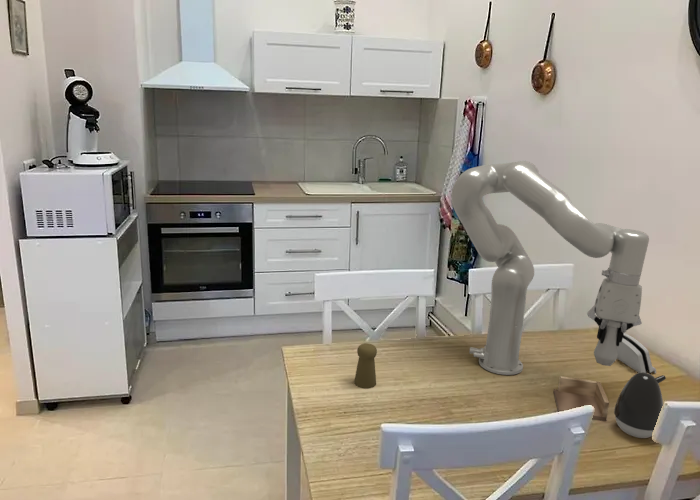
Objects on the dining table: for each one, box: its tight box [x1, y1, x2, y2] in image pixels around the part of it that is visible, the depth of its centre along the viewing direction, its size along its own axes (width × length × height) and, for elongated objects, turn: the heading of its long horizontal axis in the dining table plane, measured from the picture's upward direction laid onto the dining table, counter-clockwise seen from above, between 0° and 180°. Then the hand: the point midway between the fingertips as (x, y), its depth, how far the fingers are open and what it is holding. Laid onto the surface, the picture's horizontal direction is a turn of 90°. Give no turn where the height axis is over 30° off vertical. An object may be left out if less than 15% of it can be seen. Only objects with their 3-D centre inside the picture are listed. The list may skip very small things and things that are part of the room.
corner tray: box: [553, 375, 610, 422], centre depth 139 cm, size 11×11×5 cm
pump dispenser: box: [613, 372, 667, 439], centre depth 127 cm, size 10×10×15 cm
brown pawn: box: [353, 342, 378, 390], centre depth 145 cm, size 6×6×11 cm
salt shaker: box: [593, 320, 622, 367], centre depth 144 cm, size 6×6×13 cm
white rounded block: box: [616, 332, 657, 374], centre depth 165 cm, size 17×5×10 cm, turn 13°
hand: (608, 342), depth 144 cm, fingers closed on salt shaker, 3 cm apart
